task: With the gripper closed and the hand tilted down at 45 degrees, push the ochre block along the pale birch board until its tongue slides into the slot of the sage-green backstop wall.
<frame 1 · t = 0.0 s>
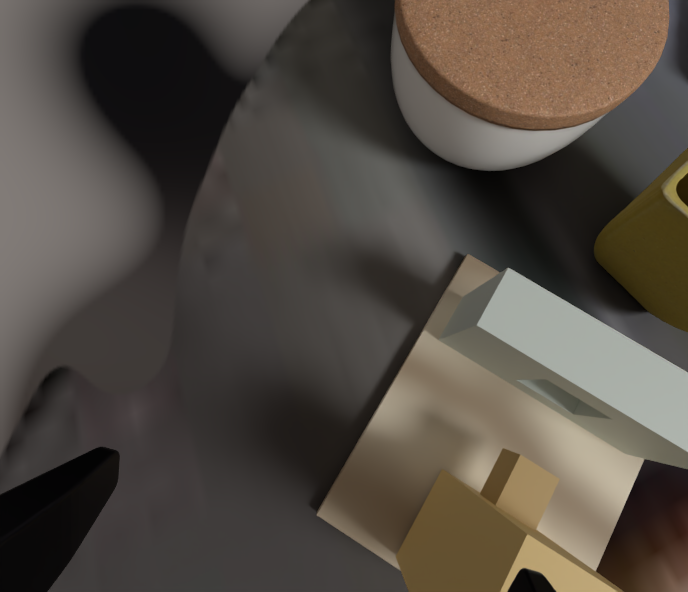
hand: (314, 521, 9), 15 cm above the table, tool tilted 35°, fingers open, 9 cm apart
block: (512, 554, 17), point 6 cm above the table, slide at 0.0 cm
board: (501, 441, 24), on the table
lidded bowl: (469, 117, 28), on the table
wall: (541, 373, 24), resting on board
flower pot: (644, 260, 27), on the table
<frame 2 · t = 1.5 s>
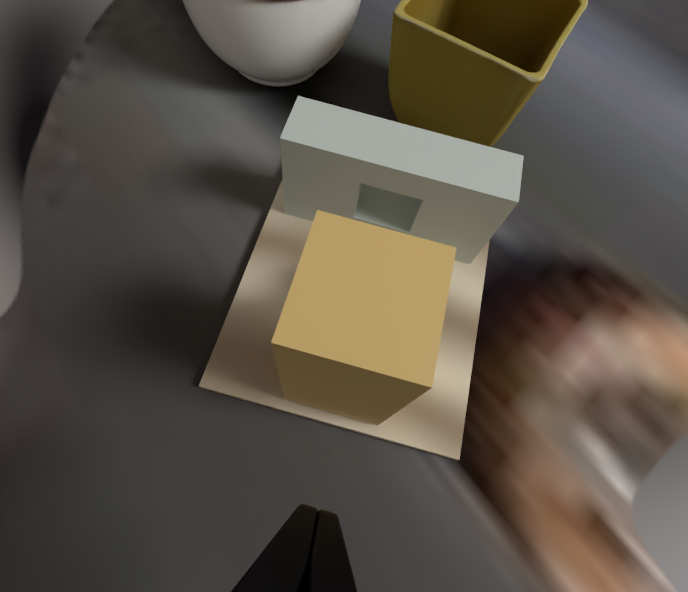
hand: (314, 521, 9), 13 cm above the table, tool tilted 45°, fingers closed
block: (360, 312, 19), point 6 cm above the table, slide at 0.0 cm
board: (364, 284, 26), on the table
lidded bowl: (276, 56, 33), on the table
wall: (382, 219, 27), resting on board
flower pot: (445, 128, 32), on the table
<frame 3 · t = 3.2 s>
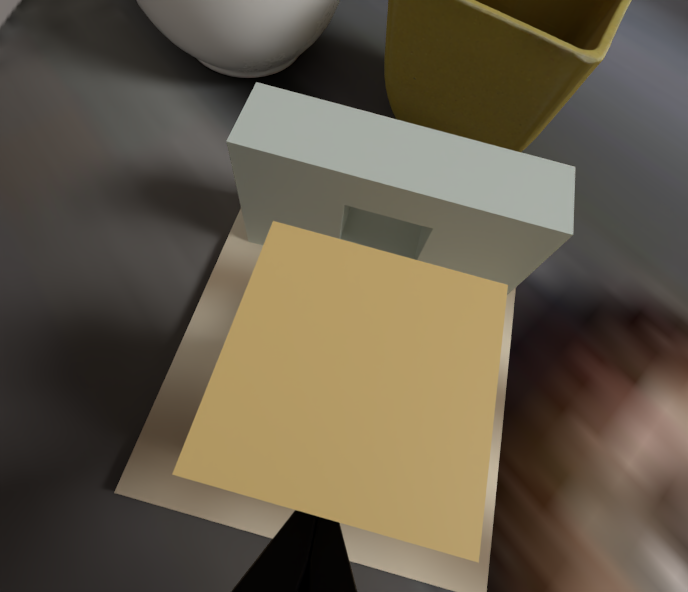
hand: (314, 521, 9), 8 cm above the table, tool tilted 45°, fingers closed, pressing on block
block: (349, 369, 13), point 6 cm above the table, slide at 1.1 cm, touching gripper
board: (353, 336, 19), on the table
lidded bowl: (247, 41, 27), on the table
wall: (376, 248, 21), resting on board
flower pot: (455, 130, 26), on the table
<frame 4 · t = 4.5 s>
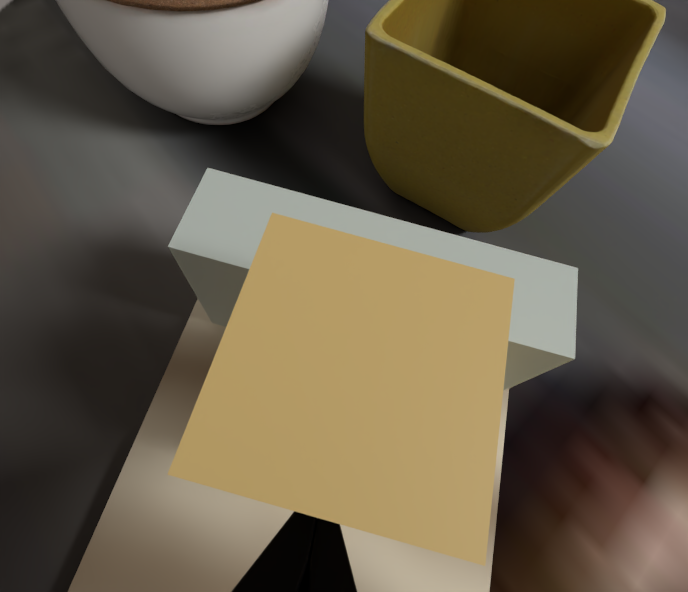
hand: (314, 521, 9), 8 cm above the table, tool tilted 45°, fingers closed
block: (351, 365, 13), point 6 cm above the table, slide at 5.6 cm
board: (327, 433, 17), on the table
lidded bowl: (220, 81, 25), on the table
wall: (355, 328, 19), resting on board
flower pot: (447, 182, 23), on the table
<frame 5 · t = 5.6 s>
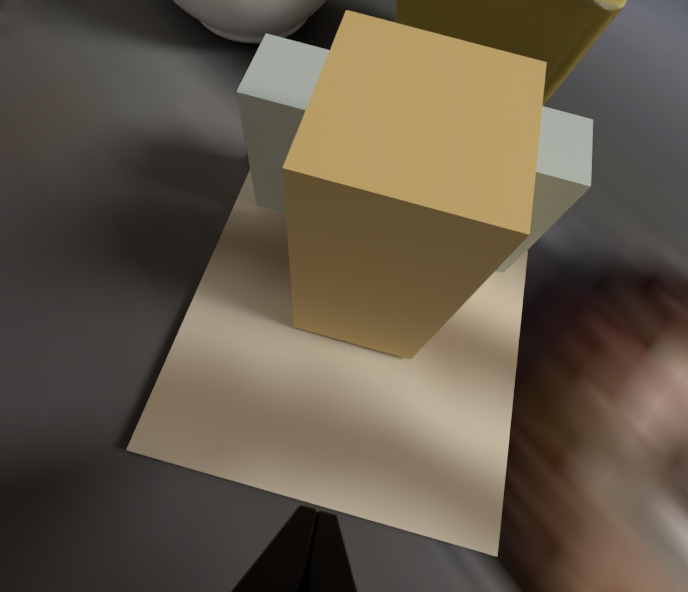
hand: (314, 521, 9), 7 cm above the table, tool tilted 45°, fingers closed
block: (394, 199, 14), point 6 cm above the table, slide at 5.6 cm
board: (363, 300, 19), on the table
lidded bowl: (252, 6, 26), on the table
wall: (386, 213, 20), resting on board
flower pot: (466, 96, 25), on the table
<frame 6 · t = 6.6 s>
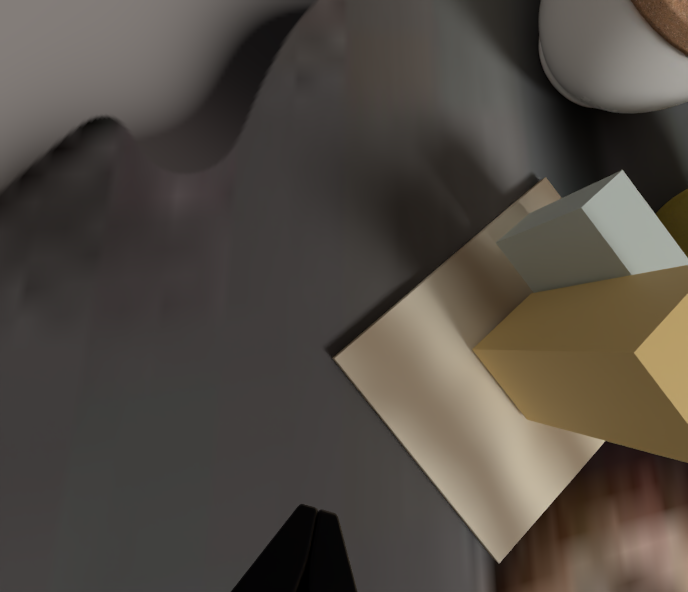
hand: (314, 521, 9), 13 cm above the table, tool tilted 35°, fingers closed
block: (617, 340, 19), point 6 cm above the table, slide at 5.6 cm
board: (517, 356, 25), on the table
lidded bowl: (582, 59, 29), on the table
wall: (573, 307, 25), resting on board
flower pot: (681, 249, 29), on the table
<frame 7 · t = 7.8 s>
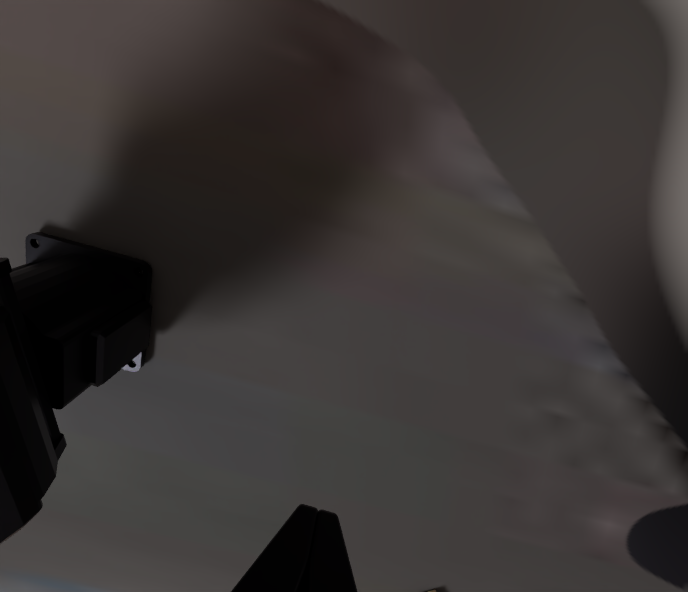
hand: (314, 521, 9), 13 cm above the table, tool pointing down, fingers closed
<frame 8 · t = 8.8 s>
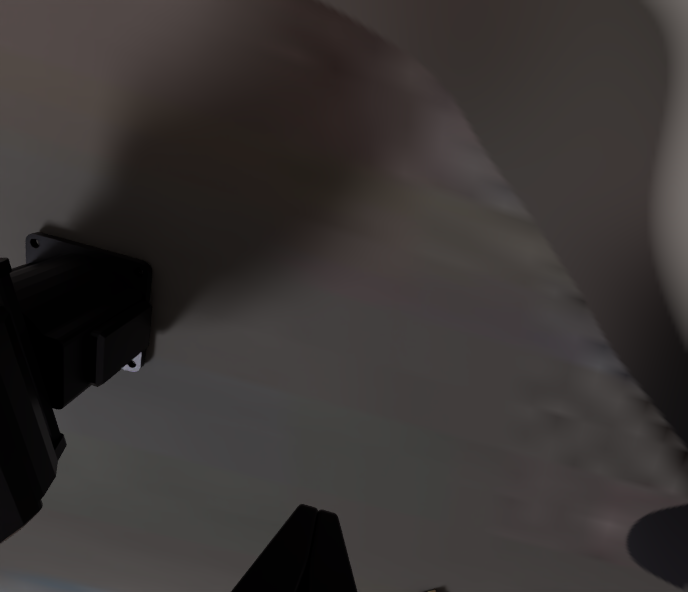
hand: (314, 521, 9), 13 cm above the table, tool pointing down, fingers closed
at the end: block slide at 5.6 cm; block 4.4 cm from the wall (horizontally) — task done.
